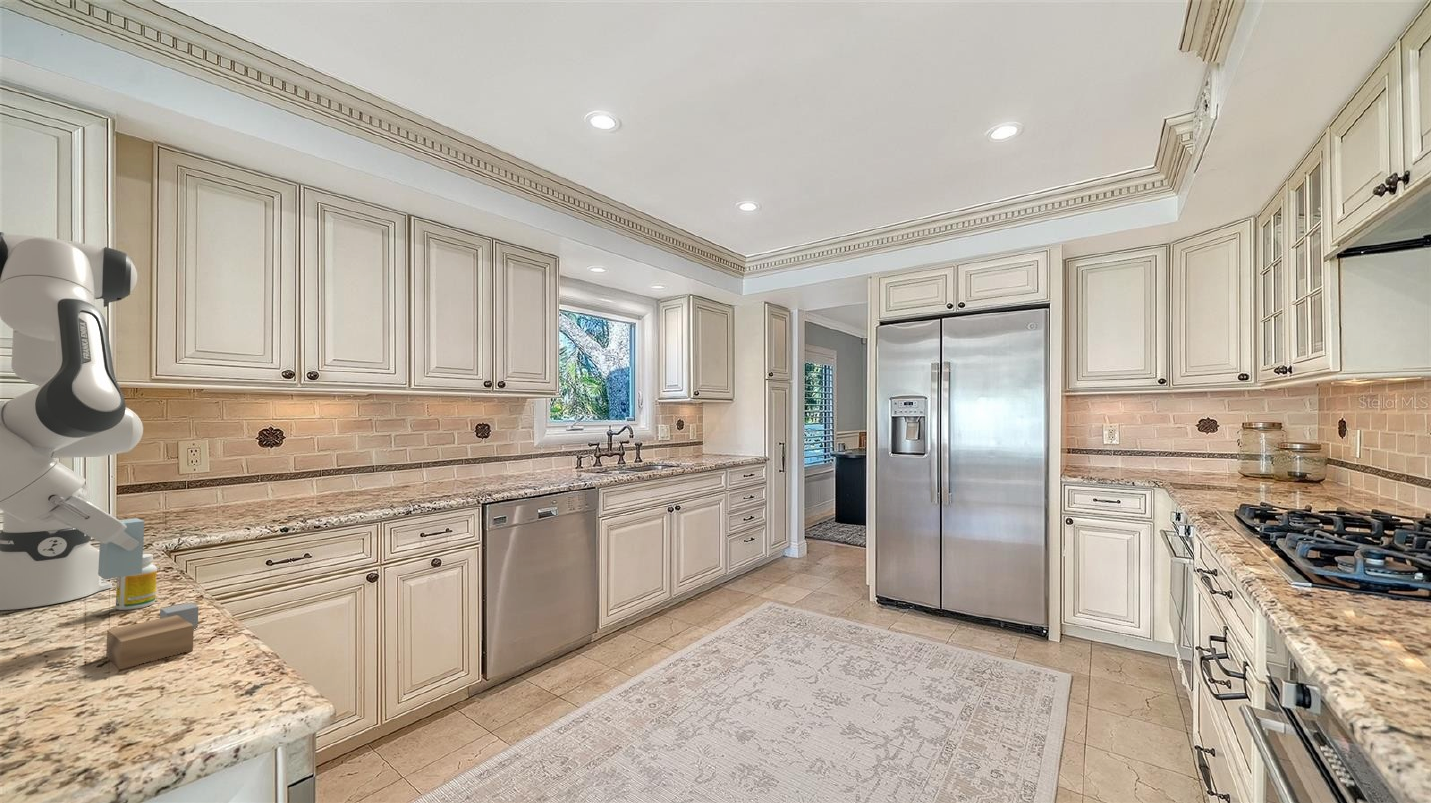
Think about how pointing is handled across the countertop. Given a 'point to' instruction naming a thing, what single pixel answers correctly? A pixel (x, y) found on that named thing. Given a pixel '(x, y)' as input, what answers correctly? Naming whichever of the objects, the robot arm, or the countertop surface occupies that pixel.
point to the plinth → (149, 641)
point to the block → (182, 612)
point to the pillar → (122, 553)
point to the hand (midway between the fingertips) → (129, 544)
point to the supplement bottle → (137, 587)
